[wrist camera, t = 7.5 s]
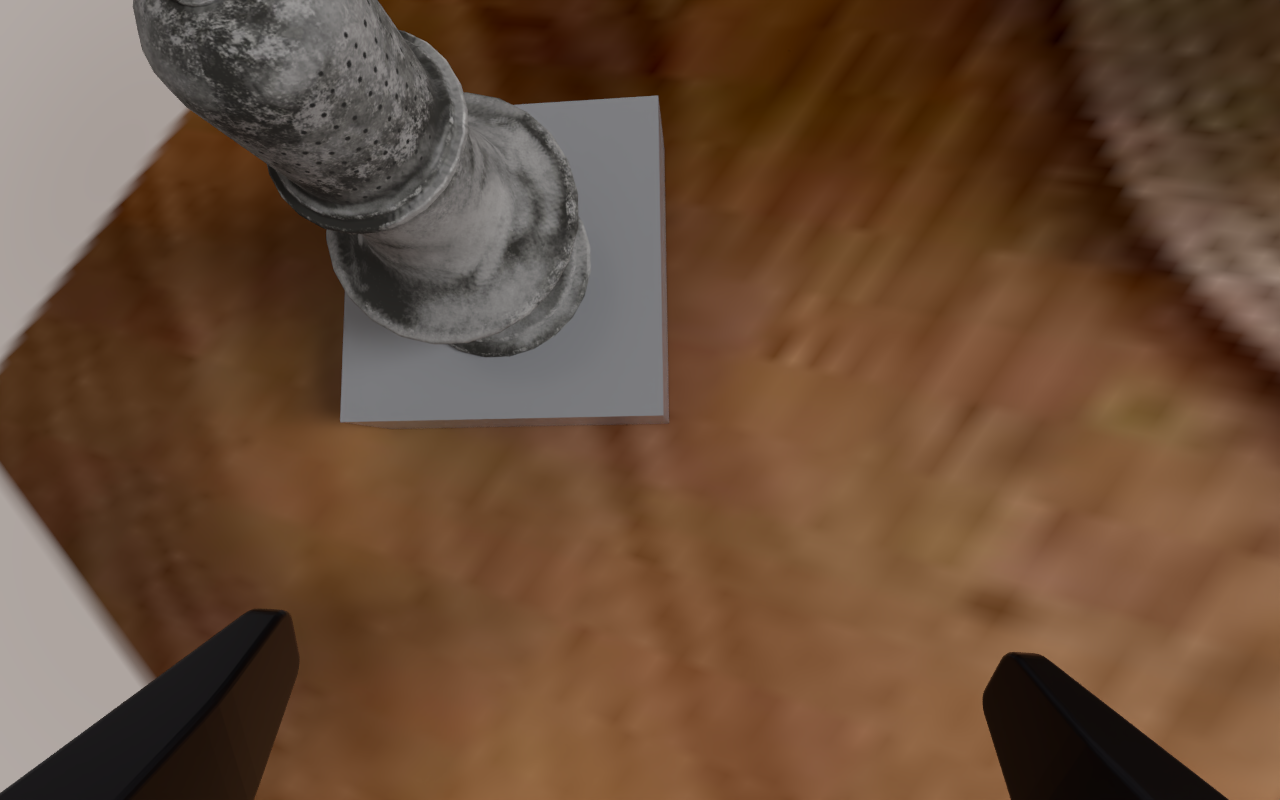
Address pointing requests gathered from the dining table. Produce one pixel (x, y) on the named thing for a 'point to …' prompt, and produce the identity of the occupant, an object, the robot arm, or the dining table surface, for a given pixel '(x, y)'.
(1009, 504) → the dining table surface
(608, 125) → the rectangular block
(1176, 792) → the robot arm
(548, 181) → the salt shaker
